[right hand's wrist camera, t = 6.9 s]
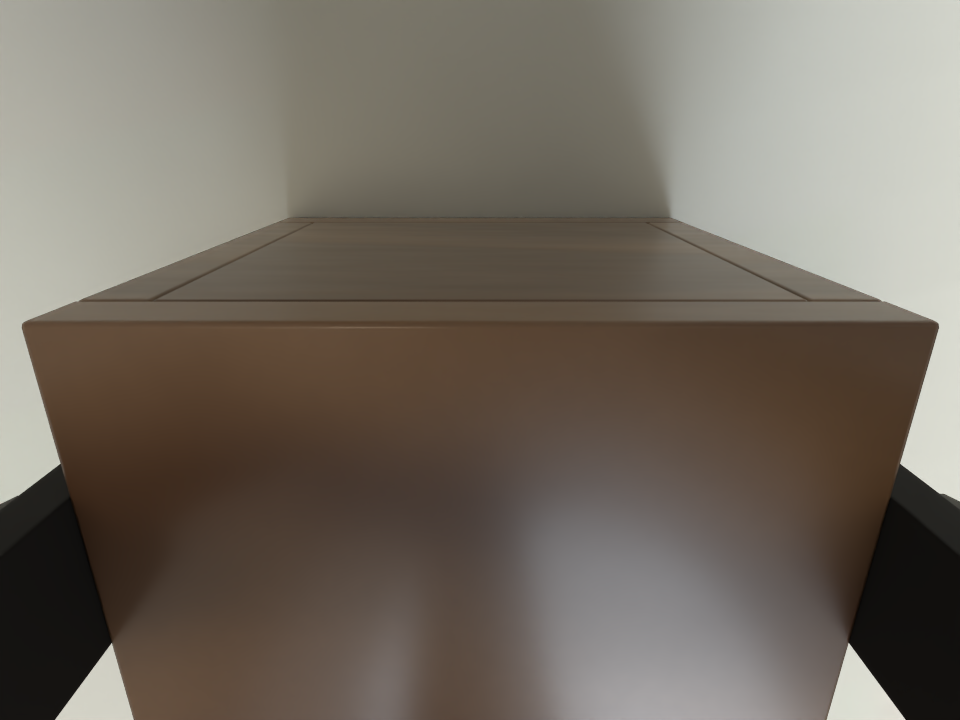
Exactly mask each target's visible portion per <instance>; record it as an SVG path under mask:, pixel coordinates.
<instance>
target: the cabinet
mask: <svg viewBox="0 0 960 720" xmlns="http://www.w3.org/2000/svg"><path fill="white" fill-rule="evenodd" d="M938 329H939V325H938V323H937V322H935V321H933V320H931V319H928V318H926V317H923V316H920V315H918V314H915V313H913V312H910V311H908V310H905V309H903V308H900V307H897V306H895V305H892V304H890V303H887V302H882V301H881V300H879V299H877V298H874V297H872V296H869V295H866V294H864V293H861V292H859V291H856V290H854V289H851V288H849V287H846V286H844V285H841V284H838V283H836V282H833V281H831V280H828V279H826V278H823V277H821V276H818V275H815V274H813V273H810V272H808V271H805V270H803V269H800V268H798V267H795V266H792V265H790V264H787V263H785V262H782V261H780V260H777V259H775V258H772V257H770V256H767V255H764V254H762V253H759V252H757V251H754V250H752V249H749V248H747V247H744V246H741V245H739V244H736V243H734V242H731V241H729V240H726V239H724V238H721V237H718V236H716V235H713V234H711V233H708V232H706V231H703V230H701V229H698V228H695V227H693V226H690V225H688V224H685V223H683V222H680V221H678V220H675V219H673V218H287V219H285V220H282V221H280V222H277V223H275V224H272V225H269V226H267V227H264V228H262V229H259V230H257V231H254V232H252V233H249V234H247V235H244V236H242V237H239V238H236V239H234V240H231V241H229V242H226V243H224V244H221V245H219V246H216V247H214V248H211V249H209V250H206V251H203V252H201V253H198V254H196V255H193V256H191V257H188V258H186V259H183V260H181V261H178V262H175V263H173V264H170V265H168V266H165V267H163V268H160V269H158V270H155V271H153V272H150V273H148V274H145V275H142V276H140V277H137V278H135V279H132V280H130V281H127V282H125V283H122V284H120V285H117V286H114V287H112V288H109V289H107V290H104V291H102V292H99V293H97V294H94V295H92V296H89V297H87V298H84V299H82V300H80V301H79V302H74V303H71V304H68V305H66V306H63V307H61V308H58V309H56V310H53V311H51V312H48V313H46V314H43V315H40V316H38V317H35V318H33V319H30V320H28V321H26V322H24V323H23V324H22V330H23V334H24V337H25V341H26V344H27V348H28V351H29V355H30V358H31V362H32V365H33V369H34V372H35V376H36V379H37V383H38V386H39V390H40V393H41V397H42V400H43V404H44V407H45V411H46V414H47V418H48V421H49V425H50V428H51V432H52V435H53V439H54V442H55V446H56V449H57V453H58V456H59V460H60V463H61V466H62V470H63V473H64V477H65V480H66V484H67V487H68V491H69V494H70V498H71V501H72V505H73V508H74V512H75V515H76V519H77V522H78V526H79V529H80V533H81V536H82V540H83V543H84V547H85V550H86V554H87V557H88V561H89V564H90V568H91V571H92V575H93V578H94V582H95V585H96V589H97V592H98V596H99V599H100V603H101V606H102V610H103V613H104V617H105V620H106V624H107V627H108V631H109V634H110V638H111V641H112V645H113V648H114V652H115V655H116V659H117V662H118V666H119V669H120V673H121V676H122V680H123V683H124V687H125V690H126V694H127V697H128V701H129V704H130V708H131V711H132V715H133V718H134V720H826V719H827V716H828V713H829V709H830V706H831V702H832V699H833V695H834V692H835V688H836V685H837V681H838V678H839V674H840V671H841V667H842V664H843V660H844V657H845V653H846V650H847V646H848V643H849V639H850V636H851V632H852V629H853V625H854V622H855V618H856V615H857V611H858V608H859V604H860V601H861V597H862V594H863V590H864V587H865V584H866V580H867V577H868V573H869V570H870V566H871V563H872V559H873V556H874V552H875V549H876V545H877V542H878V538H879V535H880V531H881V528H882V524H883V521H884V517H885V514H886V510H887V507H888V503H889V500H890V496H891V493H892V489H893V486H894V482H895V479H896V475H897V472H898V468H899V465H900V461H901V458H902V455H903V451H904V448H905V444H906V441H907V437H908V434H909V430H910V427H911V423H912V420H913V416H914V413H915V409H916V406H917V402H918V399H919V395H920V392H921V388H922V385H923V381H924V378H925V374H926V371H927V367H928V364H929V360H930V357H931V353H932V350H933V346H934V343H935V339H936V336H937V332H938Z"/></svg>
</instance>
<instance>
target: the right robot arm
mask: <svg viewBox="0 0 960 720" xmlns="http://www.w3.org/2000/svg"><path fill="white" fill-rule="evenodd" d="M111 643H112V641H111V638H110V634H109V631H108V627H107V624H106V620H105V617H104V613H103V610H102V606H101V603H100V599H99V596H98V592H97V589H96V585H95V582H94V578H93V575H92V571H91V568H90V564H89V561H88V557H87V554H86V550H85V547H84V543H83V540H82V536H81V533H80V529H79V526H78V522H77V519H76V515H75V512H74V508H73V505H72V501H71V498H70V494H69V491H68V487H67V484H66V480H65V477H64V473H63V470H62V466H61V464H60V465H59V466H57V467H56V468H55V469H53V470H52V471H51V472H49V473H48V474H47V475H45V476H44V477H43V478H41V479H40V480H39V481H38V482H36V483H35V484H34V485H32V486H31V487H30V488H28V489H27V490H26V491H24V492H23V493H22V494H20V495H19V496H16V497H14V498H12V499H10V500H8V501H6V502H4V503H2V504H0V720H55V719H56V717H57V716H58V715H59V713H60V712H61V711H62V709H63V708H64V707H65V705H66V704H67V703H68V701H69V700H70V699H71V697H72V696H73V694H74V693H75V692H76V690H77V689H78V688H79V686H80V685H81V684H82V682H83V681H84V680H85V678H86V677H87V676H88V674H89V673H90V671H91V670H92V669H93V667H94V666H95V665H96V663H97V662H98V661H99V659H100V658H101V657H102V655H103V654H104V653H105V651H106V650H107V648H108V647H109V646H110V644H111ZM849 644H850V645H851V646H852V648H853V649H854V650H855V652H856V653H857V654H858V656H859V657H860V658H861V660H862V661H863V662H864V664H865V665H866V667H867V668H868V669H869V671H870V672H871V673H872V675H873V676H874V677H875V679H876V680H877V681H878V683H879V684H880V685H881V687H882V688H883V690H884V691H885V692H886V694H887V695H888V696H889V698H890V699H891V700H892V702H893V703H894V704H895V706H896V707H897V708H898V710H899V711H900V713H901V714H902V715H903V717H904V718H905V719H906V720H960V502H959V501H957V500H955V499H953V498H951V497H949V496H947V495H945V494H939V493H938V492H936V491H935V490H934V489H932V488H931V487H930V486H928V485H927V484H926V483H924V482H923V481H922V480H921V479H919V478H918V477H917V476H915V475H914V474H913V473H911V472H910V471H909V470H907V469H906V468H905V467H903V466H902V465H901V464H900V465H899V468H898V472H897V475H896V479H895V482H894V486H893V489H892V493H891V496H890V500H889V503H888V507H887V510H886V514H885V517H884V521H883V524H882V528H881V531H880V535H879V538H878V542H877V545H876V549H875V552H874V556H873V559H872V563H871V566H870V570H869V573H868V577H867V580H866V584H865V587H864V590H863V594H862V597H861V601H860V604H859V608H858V611H857V615H856V618H855V622H854V625H853V629H852V632H851V636H850V639H849Z"/></svg>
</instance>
